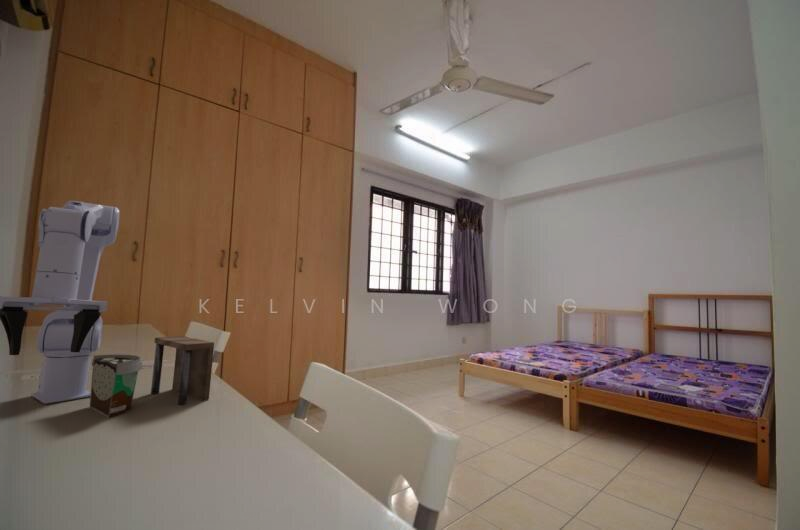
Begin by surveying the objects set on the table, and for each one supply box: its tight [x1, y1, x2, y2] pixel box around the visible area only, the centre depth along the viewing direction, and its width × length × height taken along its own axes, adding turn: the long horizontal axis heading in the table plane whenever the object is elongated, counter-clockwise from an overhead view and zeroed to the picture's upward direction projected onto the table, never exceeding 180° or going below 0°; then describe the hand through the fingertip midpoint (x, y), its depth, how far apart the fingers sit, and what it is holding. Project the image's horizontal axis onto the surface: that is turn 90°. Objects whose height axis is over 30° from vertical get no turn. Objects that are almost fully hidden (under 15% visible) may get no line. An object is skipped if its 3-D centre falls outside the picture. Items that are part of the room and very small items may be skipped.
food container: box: [89, 353, 144, 418], centre depth 72 cm, size 12×6×10 cm, turn 58°
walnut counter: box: [150, 335, 215, 406], centre depth 82 cm, size 14×6×13 cm, turn 58°
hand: (46, 353), depth 61 cm, fingers open, 7 cm apart
